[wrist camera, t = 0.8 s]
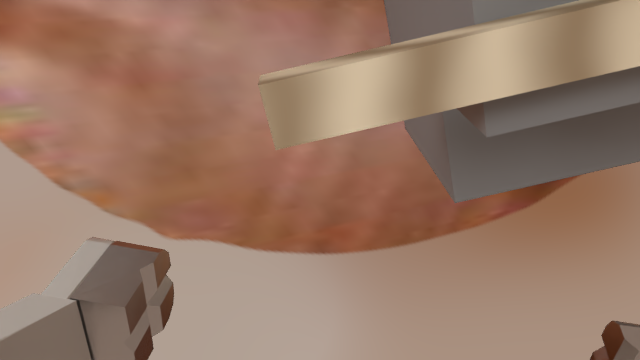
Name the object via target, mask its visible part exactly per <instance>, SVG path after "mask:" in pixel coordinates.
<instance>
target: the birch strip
mask: <svg viewBox="0 0 640 360" xmlns="http://www.w3.org/2000/svg"><path fill="white" fill-rule="evenodd" d="M638 66H640V0H579V1H574V2H570V3H566V4H562V5H557V6H553V7H549V8H544V9H540V10H536V11H532V12H527V13H523V14H519V15H515V16H510V17H506V18H502V19H498V20H493V21H489V22H485V23H481V24H476V25H472V26H468V27H464V28H459V29H455V30H451V31H447V32H442V33H438V34H434V35H430V36H425V37H421V38H417V39H413V40H408V41H404V42H400V43H395V44H391V45H387V46H383V47H378V48H374V49H370V50H366V51H361V52H357V53H353V54H349V55H344V56H340V57H336V58H332V59H327V60H323V61H319V62H315V63H310V64H306V65H302V66H298V67H293V68H289V69H285V70H281V71H276V72H272V73H268V74H264V75H260V79H259V84H258V86H259V90H260V93H261V97H262V101H263V105H264V108H265V112H266V116H267V119H268V123H269V127H270V131H271V134H272V138H273V142H274V145H275V149H276V150H278V149H283V148H287V147H291V146H296V145H300V144H304V143H309V142H313V141H317V140H322V139H326V138H330V137H335V136H339V135H343V134H348V133H352V132H356V131H361V130H365V129H369V128H374V127H378V126H382V125H387V124H391V123H395V122H400V121H404V120H408V119H413V118H417V117H421V116H426V115H430V114H434V113H439V112H443V111H447V110H452V109H456V108H460V107H465V106H469V105H473V104H478V103H482V102H486V101H491V100H495V99H499V98H504V97H508V96H512V95H517V94H521V93H525V92H530V91H534V90H538V89H543V88H547V87H551V86H556V85H560V84H564V83H569V82H573V81H577V80H582V79H586V78H590V77H595V76H599V75H603V74H608V73H612V72H616V71H621V70H625V69H629V68H634V67H638Z"/></svg>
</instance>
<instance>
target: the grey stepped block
mask: <svg viewBox="0 0 640 360" xmlns="http://www.w3.org/2000/svg"><path fill="white" fill-rule="evenodd" d="M574 1H579V0H384V4H385V9H386V15H387V21H388V27H389V33H390V39H391V44H395V43H400V42H404V41H408V40H413V39H417V38H421V37H425V36H430V35H434V34H438V33H442V32H447V31H451V30H455V29H459V28H464V27H468V26H472V25H476V24H481V23H485V22H489V21H493V20H498V19H502V18H506V17H510V16H515V15H519V14H523V13H527V12H532V11H536V10H540V9H544V8H549V7H553V6H557V5H562V4H566V3H570V2H574ZM404 122H405V128H406V130H407V132H408V133H409V135H410V136H411V138H412V139H413V141H414V142H415V144H416V145H417V147H418V148H419V150H420V151H421V153H422V154H423V156H424V157H425V159H426V160H427V162H428V163H429V165H430V166H431V168H432V169H433V171H434V172H435V174H436V175H437V177H438V178H439V180H440V181H441V183H442V184H443V186H444V187H445V189H446V190H447V192H448V193H449V195H450V196H451V198H452V199H453V201H454V202H455V203H457V202H462V201H466V200H471V199H475V198H480V197H484V196H488V195H493V194H497V193H502V192H506V191H511V190H515V189H519V188H524V187H528V186H533V185H537V184H542V183H546V182H550V181H555V180H559V179H564V178H568V177H573V176H577V175H581V174H586V173H590V172H594V171H599V170H604V169H608V168H612V167H617V166H621V165H625V164H630V163H635V162H639V161H640V66H638V67H634V68H629V69H625V70H621V71H616V72H612V73H608V74H603V75H599V76H595V77H590V78H586V79H582V80H577V81H573V82H569V83H564V84H560V85H556V86H551V87H547V88H543V89H538V90H534V91H530V92H525V93H521V94H517V95H512V96H508V97H504V98H499V99H495V100H491V101H486V102H482V103H478V104H473V105H469V106H465V107H460V108H456V109H452V110H447V111H443V112H439V113H434V114H430V115H426V116H421V117H417V118H413V119H408V120H404Z"/></svg>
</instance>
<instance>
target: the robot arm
mask: <svg viewBox="0 0 640 360" xmlns="http://www.w3.org/2000/svg"><path fill="white" fill-rule="evenodd" d="M170 266H171V264H170V257H169V252H167V251H166V250H163V249H158V248H153V247H147V246H142V245H136V244H131V243H126V242H120V241H111V240H106V239H101V238H96V237H92V238H89V239H87V240H86V241H84V243H83V244H82V245H81V246H80V248H79V249H78V250H77V251H76V252H75V253H74V255H73V256H72V257H71V258H70V260H69V261H68V262H67V263H66V264H65V266H64V267H63V268H62V270H61V271H60V272H59V273H58V274H57V275H56V276H55V278H54V279H53V280H52V281H51V283H50V284H49V285H48V286H47V287H46V289H45V290H44V291H43V292H42V294H35V293H33V294H31V295H28V296H27V297H24V298H23V299H20V300H18V301H16V302H14V303H12V304H10V305H8V306H6V307H3V308H1V309H0V360H148V358H149V356H150V354H151V352H152V350H153V341H152V337H153V336H154V335H156V334H158V333H159V332H160V331H162V330H163V329H164V327H165V325H166V323H167V321H168V319H169V317H170V313H171V310H172V306H173V299H174V287H173V282H172V281H171V280H170V279H169V278H168V276H167V275H166V273H167V272H168V270H169V268H170ZM601 336H602V339H603V342H604V345H605V346H604V347H602V348H600V349H598V350H596V351H595V352H593V353H592V356H591V358H590V360H640V325H638V324H632V323H624V322H618V321H611V322H610V323H609V324H607V326H606V327H605V329H604V331H603V333H602V335H601Z"/></svg>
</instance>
